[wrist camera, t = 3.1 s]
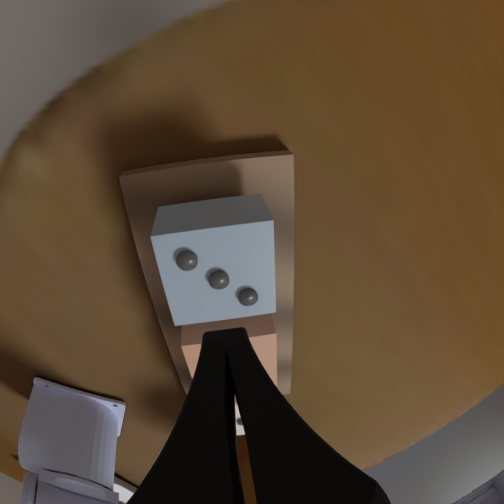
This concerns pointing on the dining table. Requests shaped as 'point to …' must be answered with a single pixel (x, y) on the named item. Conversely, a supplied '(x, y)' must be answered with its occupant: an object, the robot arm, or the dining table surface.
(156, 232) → the key three
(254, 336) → the key two
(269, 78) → the dining table surface
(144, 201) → the board
